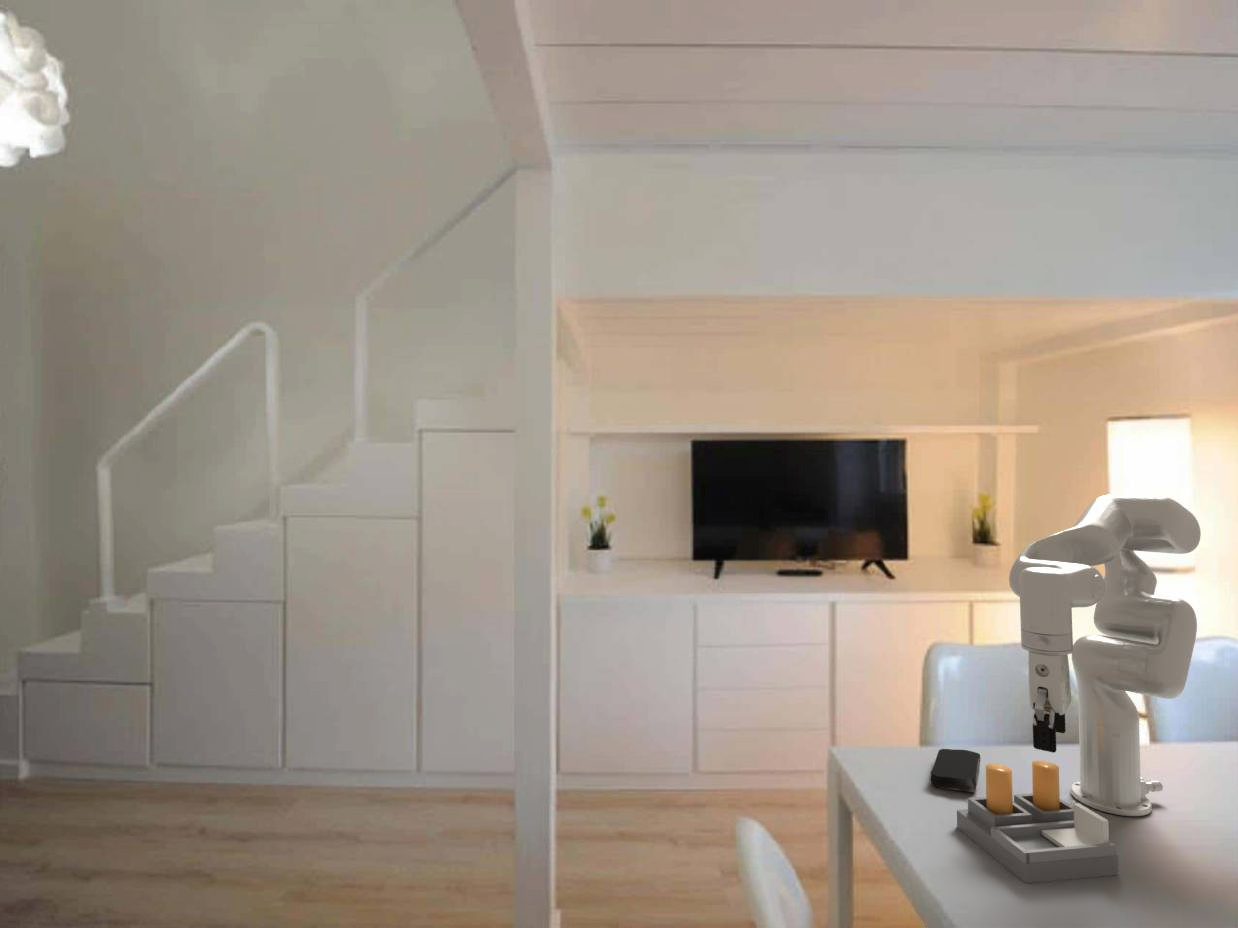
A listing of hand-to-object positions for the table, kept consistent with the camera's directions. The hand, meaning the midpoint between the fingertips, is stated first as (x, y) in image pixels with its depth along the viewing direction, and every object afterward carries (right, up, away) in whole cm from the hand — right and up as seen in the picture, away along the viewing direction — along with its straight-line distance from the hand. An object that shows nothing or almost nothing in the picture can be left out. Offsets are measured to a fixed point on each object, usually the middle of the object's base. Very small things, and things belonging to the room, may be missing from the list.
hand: (1049, 740), depth 115 cm
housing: (-4, -18, -1) cm, 18 cm away
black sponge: (-3, -19, +26) cm, 32 cm away
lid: (+1, -14, -5) cm, 15 cm away
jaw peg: (-7, -15, +2) cm, 17 cm away
